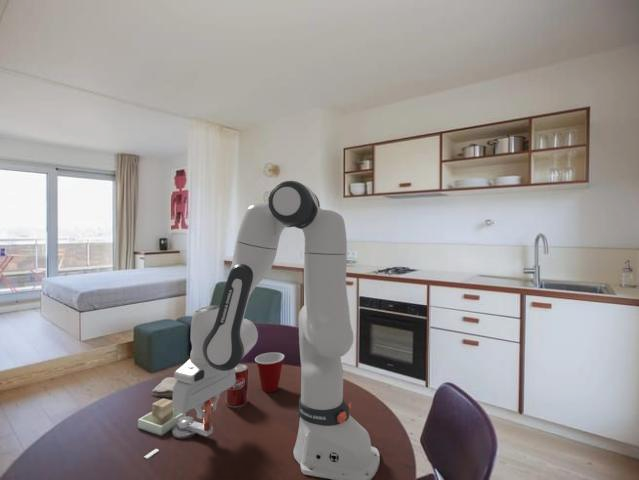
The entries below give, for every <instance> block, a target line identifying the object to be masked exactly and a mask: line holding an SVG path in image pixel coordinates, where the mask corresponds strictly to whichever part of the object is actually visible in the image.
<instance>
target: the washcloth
mask: <svg viewBox="0 0 639 480" xmlns="http://www.w3.org/2000/svg"><path fill="white" fill-rule="evenodd" d="M176 381H177V380H176V379H175V378H174V376H172V377H171V376H169V377H165V378H163V379H161V381H160V383H158V384H157V386H155V387H154V388H153V389H152V390H151V395H152V396H155V397H165V398H166V397H169V398H170V397H173V387H174V384H175V382H176Z"/></svg>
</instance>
